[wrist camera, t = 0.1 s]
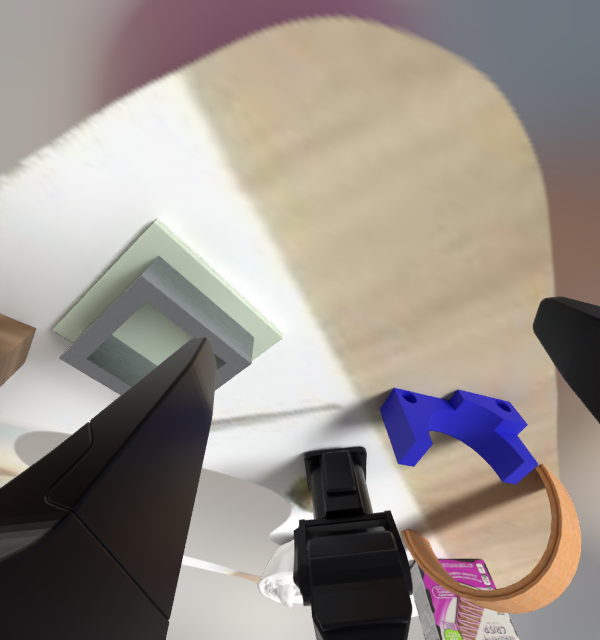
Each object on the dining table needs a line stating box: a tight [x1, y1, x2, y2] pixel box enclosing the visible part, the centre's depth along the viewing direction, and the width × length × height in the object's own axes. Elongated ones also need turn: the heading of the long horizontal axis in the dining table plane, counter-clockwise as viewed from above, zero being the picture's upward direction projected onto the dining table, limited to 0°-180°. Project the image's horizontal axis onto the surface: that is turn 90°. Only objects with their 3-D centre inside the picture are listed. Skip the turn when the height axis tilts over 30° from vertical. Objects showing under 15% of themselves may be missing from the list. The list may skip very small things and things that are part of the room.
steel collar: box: [60, 256, 254, 395], centre depth 24 cm, size 9×9×3 cm
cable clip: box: [380, 388, 538, 484], centre depth 30 cm, size 12×4×6 cm, turn 71°
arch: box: [402, 464, 581, 614], centre depth 39 cm, size 6×20×10 cm, turn 134°
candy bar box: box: [410, 559, 519, 640], centre depth 44 cm, size 11×5×16 cm, turn 82°
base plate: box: [52, 219, 283, 366], centre depth 25 cm, size 12×12×1 cm
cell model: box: [258, 539, 303, 608], centre depth 43 cm, size 10×12×7 cm
